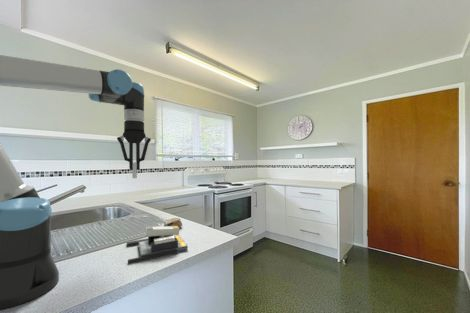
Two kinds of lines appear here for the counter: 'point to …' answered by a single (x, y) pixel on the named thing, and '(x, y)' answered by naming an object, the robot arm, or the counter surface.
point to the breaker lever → (161, 231)
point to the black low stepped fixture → (132, 243)
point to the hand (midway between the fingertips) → (134, 177)
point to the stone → (173, 222)
